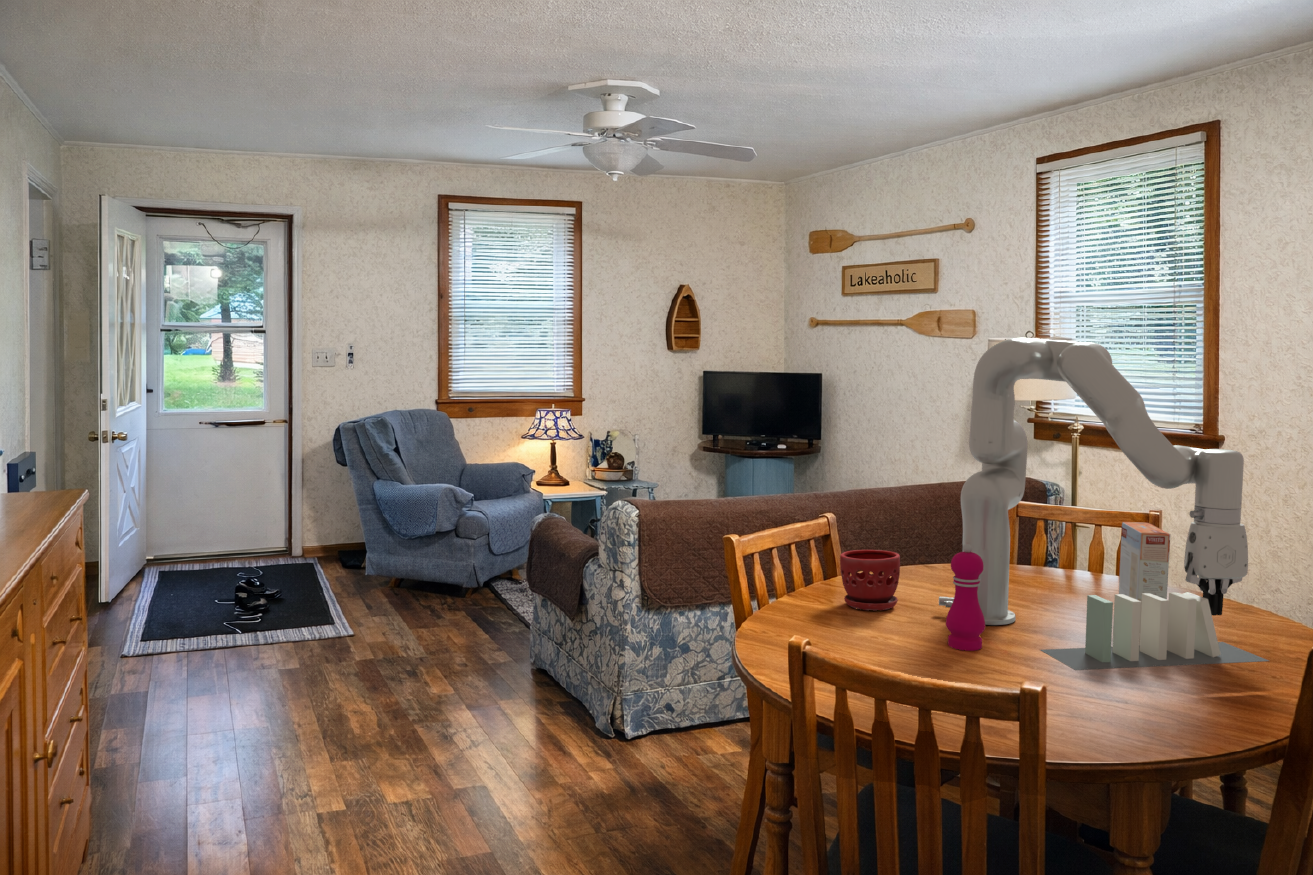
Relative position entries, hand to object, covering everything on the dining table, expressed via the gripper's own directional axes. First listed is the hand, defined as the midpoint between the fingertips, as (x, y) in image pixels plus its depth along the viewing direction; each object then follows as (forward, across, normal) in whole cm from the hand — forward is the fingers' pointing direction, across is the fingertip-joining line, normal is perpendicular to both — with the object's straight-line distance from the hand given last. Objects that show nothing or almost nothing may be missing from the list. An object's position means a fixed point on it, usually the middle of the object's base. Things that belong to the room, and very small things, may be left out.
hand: (1212, 613), depth 182 cm
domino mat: (+8, -12, 0) cm, 14 cm away
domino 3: (+8, -6, 0) cm, 10 cm away
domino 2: (+8, -12, 0) cm, 14 cm away
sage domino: (+8, -23, 0) cm, 24 cm away
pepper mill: (+8, -43, +12) cm, 45 cm away
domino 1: (+8, -17, 0) cm, 19 cm away
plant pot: (+8, -50, +43) cm, 67 cm away
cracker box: (+8, -1, +20) cm, 21 cm away
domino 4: (+7, -1, 0) cm, 7 cm away
